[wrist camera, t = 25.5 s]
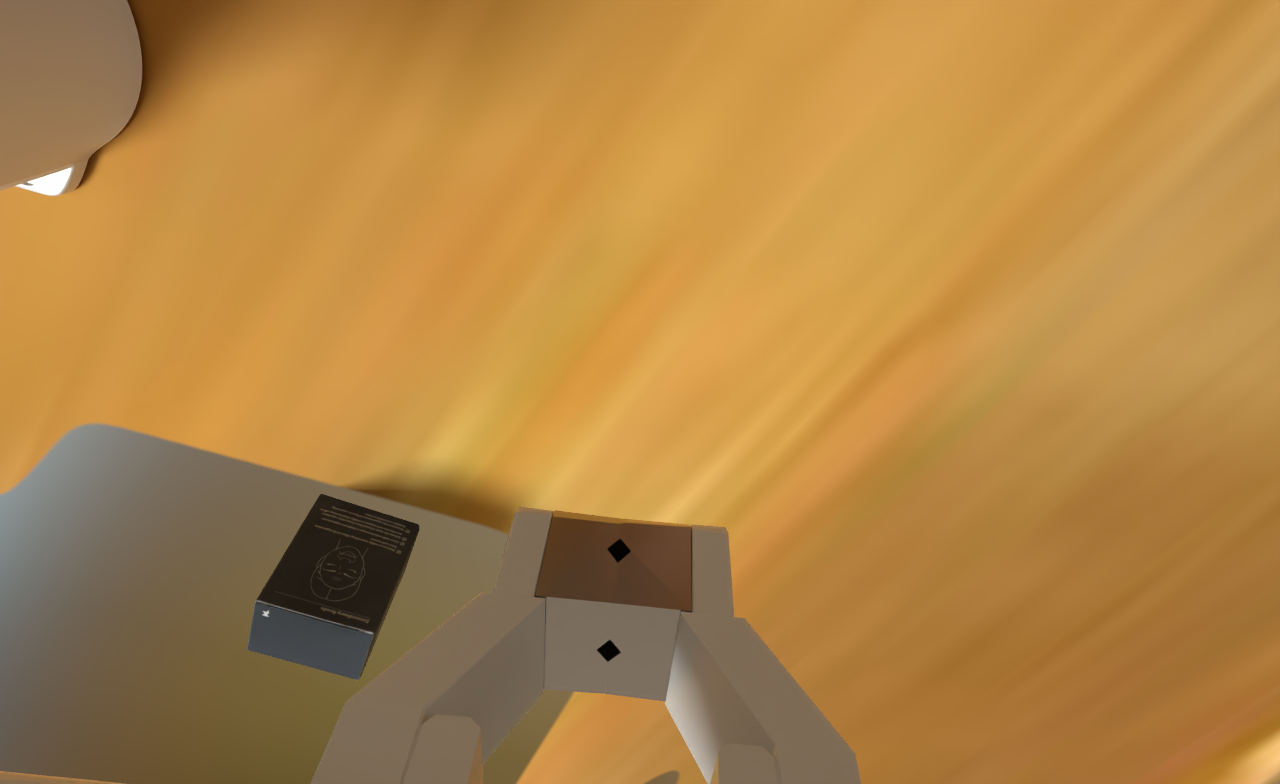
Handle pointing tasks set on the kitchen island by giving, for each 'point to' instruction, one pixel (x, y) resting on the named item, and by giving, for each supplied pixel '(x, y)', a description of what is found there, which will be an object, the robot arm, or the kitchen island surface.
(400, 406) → the kitchen island surface
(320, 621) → the box
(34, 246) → the kitchen island surface
